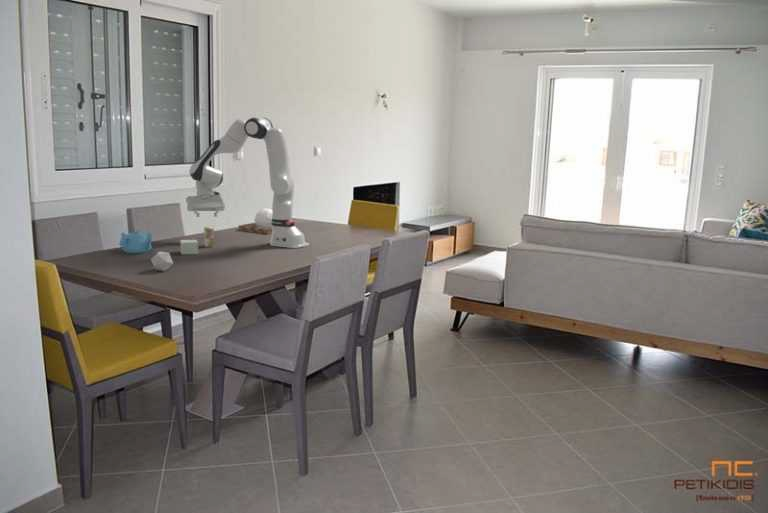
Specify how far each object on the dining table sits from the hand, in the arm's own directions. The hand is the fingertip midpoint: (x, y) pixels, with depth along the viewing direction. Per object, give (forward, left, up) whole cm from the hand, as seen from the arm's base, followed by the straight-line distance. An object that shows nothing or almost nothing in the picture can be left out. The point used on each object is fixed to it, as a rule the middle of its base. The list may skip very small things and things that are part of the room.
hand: (206, 216), depth 356 cm
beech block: (-9, +7, -15) cm, 19 cm away
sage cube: (-14, +26, -15) cm, 33 cm away
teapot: (+8, +40, -15) cm, 44 cm away
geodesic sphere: (+3, -54, -15) cm, 56 cm away
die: (-34, +61, -15) cm, 72 cm away
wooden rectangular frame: (+3, -54, -15) cm, 56 cm away
